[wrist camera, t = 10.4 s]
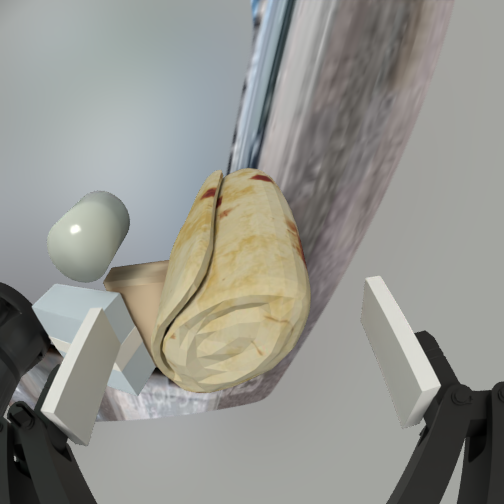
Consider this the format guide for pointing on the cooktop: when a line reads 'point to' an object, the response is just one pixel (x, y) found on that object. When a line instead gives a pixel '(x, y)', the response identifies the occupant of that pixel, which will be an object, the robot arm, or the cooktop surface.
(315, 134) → the cooktop surface
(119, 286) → the tan square plate
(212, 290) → the food model
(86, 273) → the pale green rounded knob
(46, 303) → the flat box
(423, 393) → the robot arm
